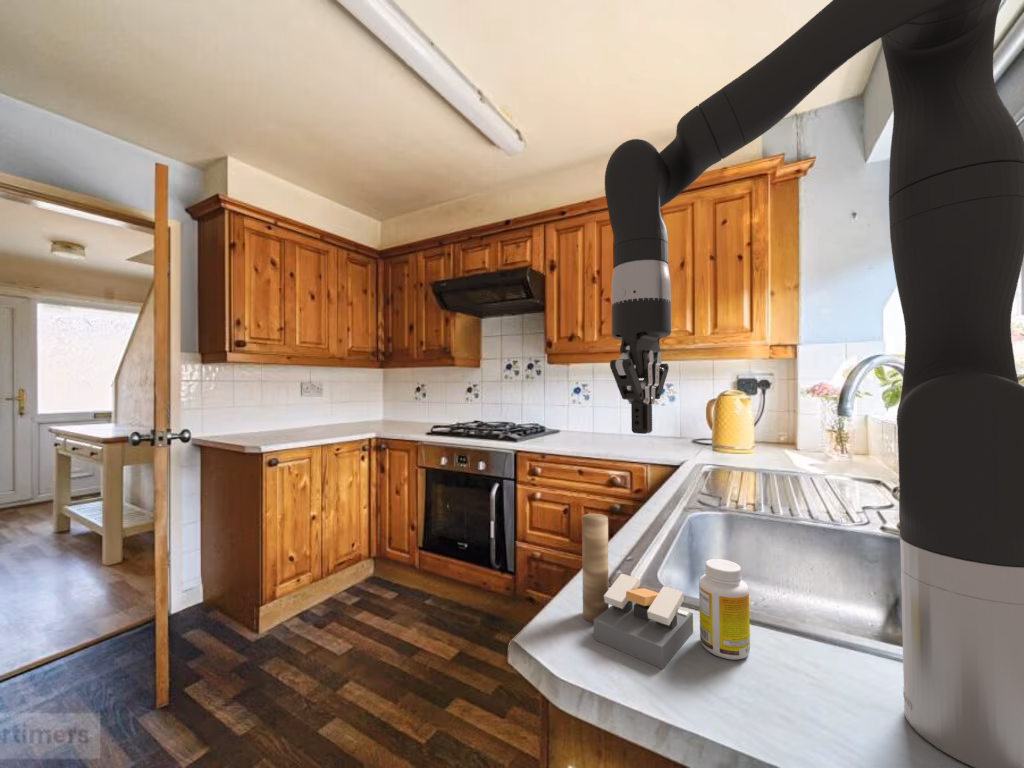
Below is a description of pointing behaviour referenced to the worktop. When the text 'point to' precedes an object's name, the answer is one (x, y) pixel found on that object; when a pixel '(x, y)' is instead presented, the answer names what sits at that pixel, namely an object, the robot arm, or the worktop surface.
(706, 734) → the worktop surface
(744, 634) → the supplement bottle
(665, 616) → the paddle near bottle
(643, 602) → the paddle middle
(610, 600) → the paddle near post
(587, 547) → the pine post
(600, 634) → the board
